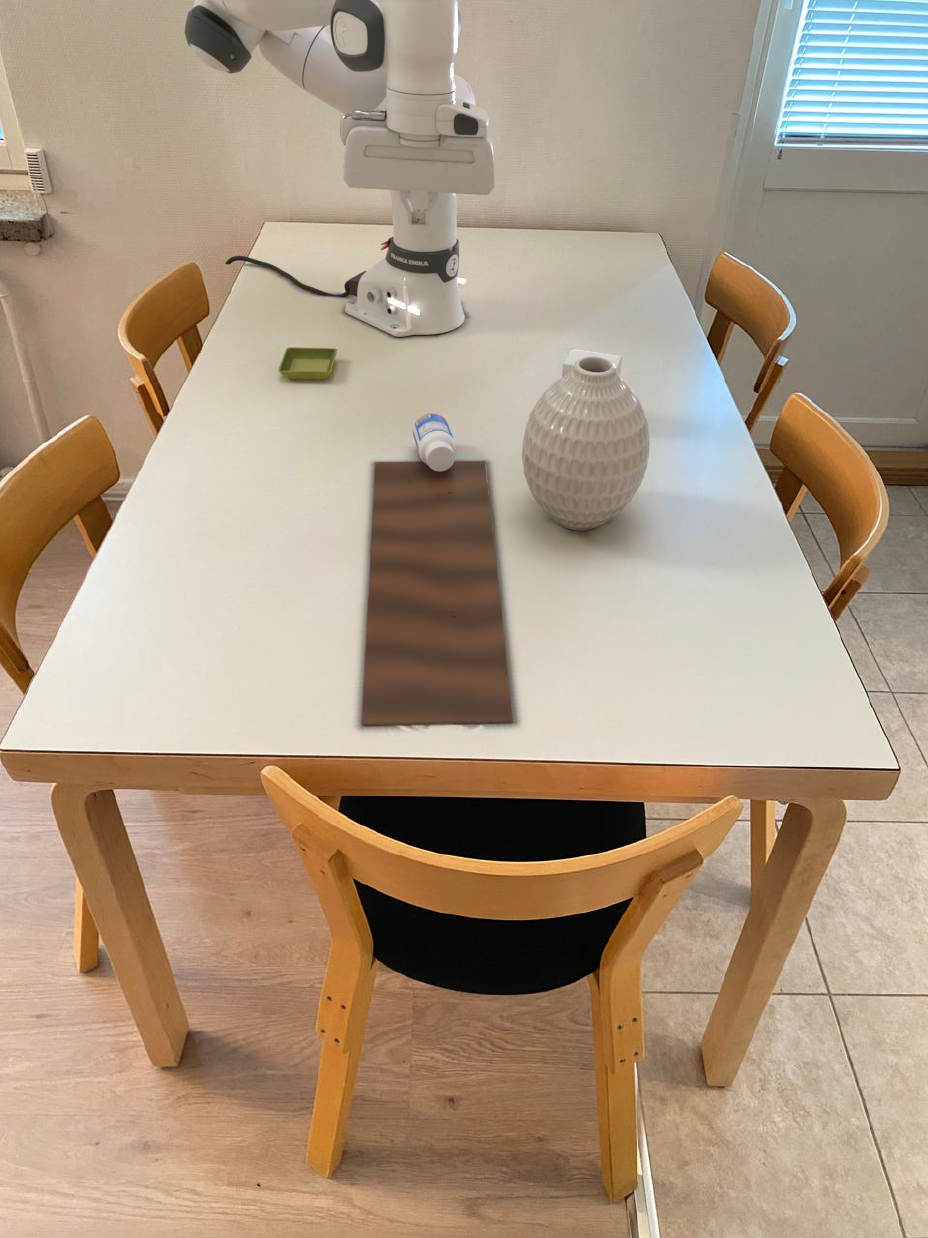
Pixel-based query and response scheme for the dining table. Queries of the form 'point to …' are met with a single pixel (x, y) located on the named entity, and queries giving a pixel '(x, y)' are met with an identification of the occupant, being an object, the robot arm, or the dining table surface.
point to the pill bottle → (434, 441)
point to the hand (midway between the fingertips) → (418, 224)
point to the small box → (579, 354)
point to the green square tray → (307, 363)
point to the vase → (586, 446)
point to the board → (433, 600)
